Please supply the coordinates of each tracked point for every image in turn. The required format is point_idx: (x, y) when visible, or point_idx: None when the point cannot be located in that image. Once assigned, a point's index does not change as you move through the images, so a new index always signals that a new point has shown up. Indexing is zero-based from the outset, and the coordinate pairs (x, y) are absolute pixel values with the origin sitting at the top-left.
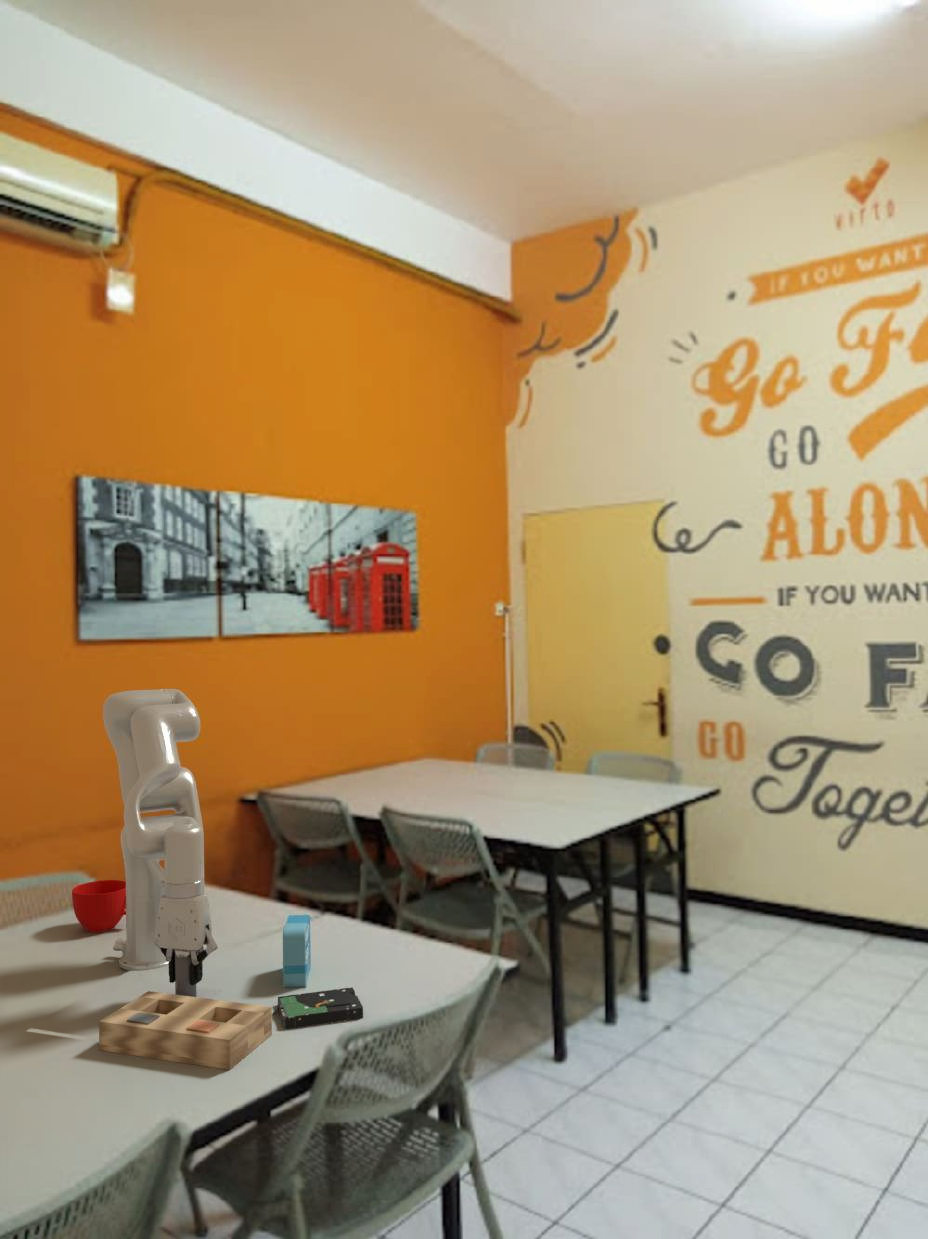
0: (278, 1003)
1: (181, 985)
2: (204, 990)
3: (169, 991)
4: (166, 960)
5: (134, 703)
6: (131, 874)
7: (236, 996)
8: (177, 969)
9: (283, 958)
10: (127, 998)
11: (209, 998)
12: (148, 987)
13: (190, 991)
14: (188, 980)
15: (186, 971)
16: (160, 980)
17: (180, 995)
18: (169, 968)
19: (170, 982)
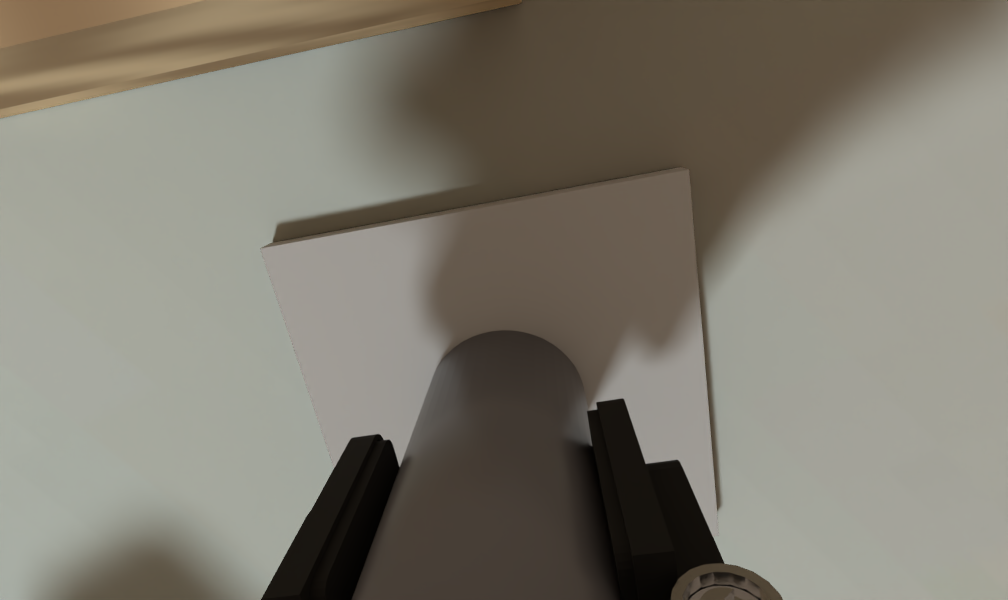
0: None
1: (463, 397)
2: None
3: (706, 430)
4: (753, 579)
5: None
6: None
7: (264, 563)
8: (502, 497)
9: None
10: (991, 227)
11: (337, 455)
12: (950, 449)
13: (419, 413)
14: (405, 461)
15: (390, 517)
16: (938, 564)
17: (15, 39)
18: (650, 490)
19: (614, 400)
